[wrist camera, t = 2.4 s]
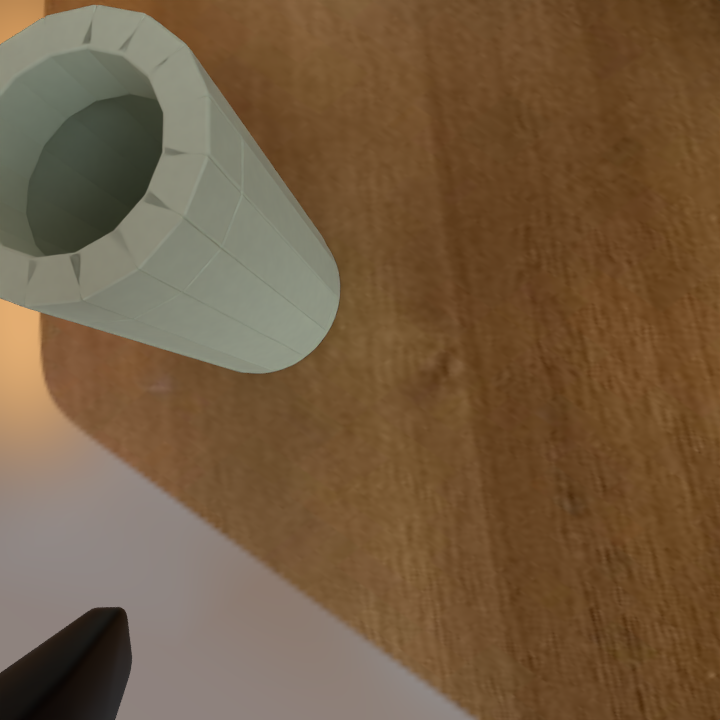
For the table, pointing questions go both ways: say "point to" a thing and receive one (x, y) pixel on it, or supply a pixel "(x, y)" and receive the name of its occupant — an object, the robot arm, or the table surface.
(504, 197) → the table surface
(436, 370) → the table surface
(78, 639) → the robot arm
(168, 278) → the jar
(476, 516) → the table surface
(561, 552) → the table surface
